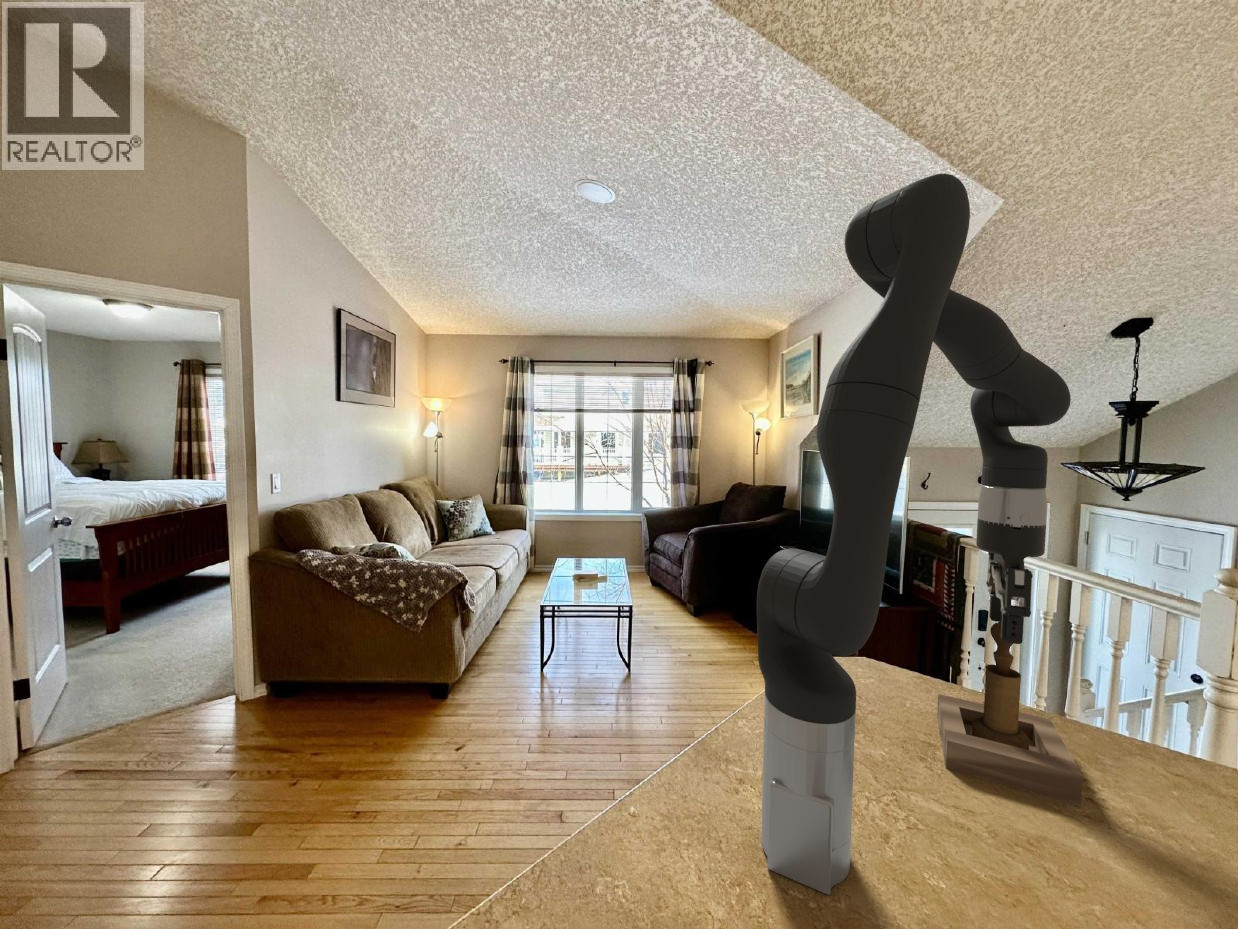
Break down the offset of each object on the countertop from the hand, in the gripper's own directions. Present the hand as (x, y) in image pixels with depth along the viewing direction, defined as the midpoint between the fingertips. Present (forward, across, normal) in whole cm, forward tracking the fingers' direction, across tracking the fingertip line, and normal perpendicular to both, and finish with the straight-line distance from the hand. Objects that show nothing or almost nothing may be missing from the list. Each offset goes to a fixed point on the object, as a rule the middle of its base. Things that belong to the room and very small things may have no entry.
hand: (1004, 631), depth 69 cm
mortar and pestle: (+17, 0, 0) cm, 17 cm away
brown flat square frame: (+19, 0, 0) cm, 19 cm away
